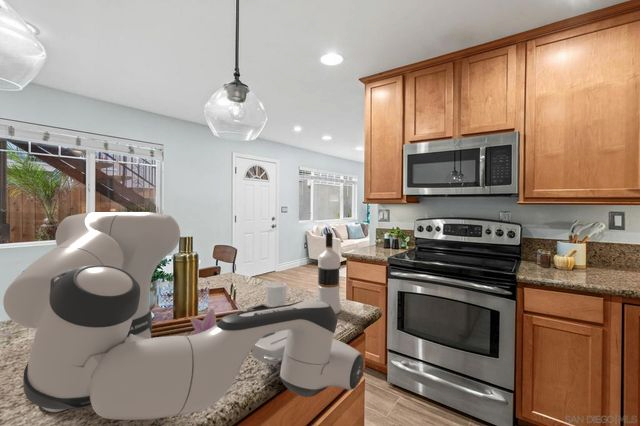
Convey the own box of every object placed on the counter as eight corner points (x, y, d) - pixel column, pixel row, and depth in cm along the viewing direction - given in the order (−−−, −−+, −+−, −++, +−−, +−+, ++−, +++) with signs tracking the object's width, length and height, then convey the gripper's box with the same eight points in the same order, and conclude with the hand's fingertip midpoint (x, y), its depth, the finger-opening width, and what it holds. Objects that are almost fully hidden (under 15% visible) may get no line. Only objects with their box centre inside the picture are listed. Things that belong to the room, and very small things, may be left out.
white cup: (285, 314, 113) (285, 287, 112) (264, 313, 113) (264, 287, 112) (287, 306, 121) (287, 281, 120) (267, 306, 121) (267, 281, 120)
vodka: (324, 317, 109) (325, 234, 108) (311, 309, 117) (312, 232, 116) (345, 313, 114) (346, 233, 113) (332, 305, 122) (332, 231, 121)
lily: (176, 364, 80) (188, 336, 77) (179, 330, 90) (190, 305, 88) (221, 367, 86) (234, 341, 83) (220, 335, 96) (231, 311, 93)
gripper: (273, 377, 68) (238, 356, 78) (332, 346, 83) (297, 331, 93) (273, 349, 68) (238, 331, 77) (332, 323, 83) (297, 311, 92)
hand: (271, 331), depth 85 cm, fingers open, 8 cm apart
